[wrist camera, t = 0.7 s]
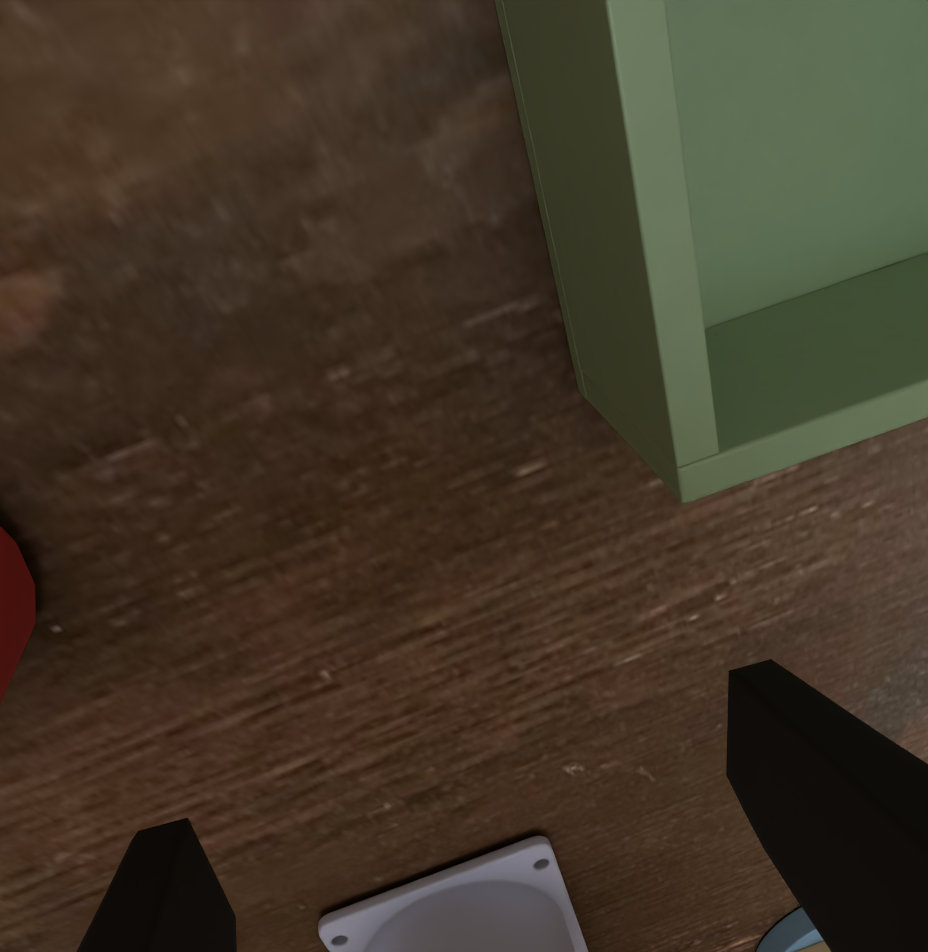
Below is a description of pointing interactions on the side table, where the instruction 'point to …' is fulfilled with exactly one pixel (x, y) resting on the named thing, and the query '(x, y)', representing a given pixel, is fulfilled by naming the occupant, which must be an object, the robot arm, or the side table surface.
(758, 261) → the sage green bin
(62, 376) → the side table surface
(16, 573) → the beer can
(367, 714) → the side table surface
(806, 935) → the spoon
